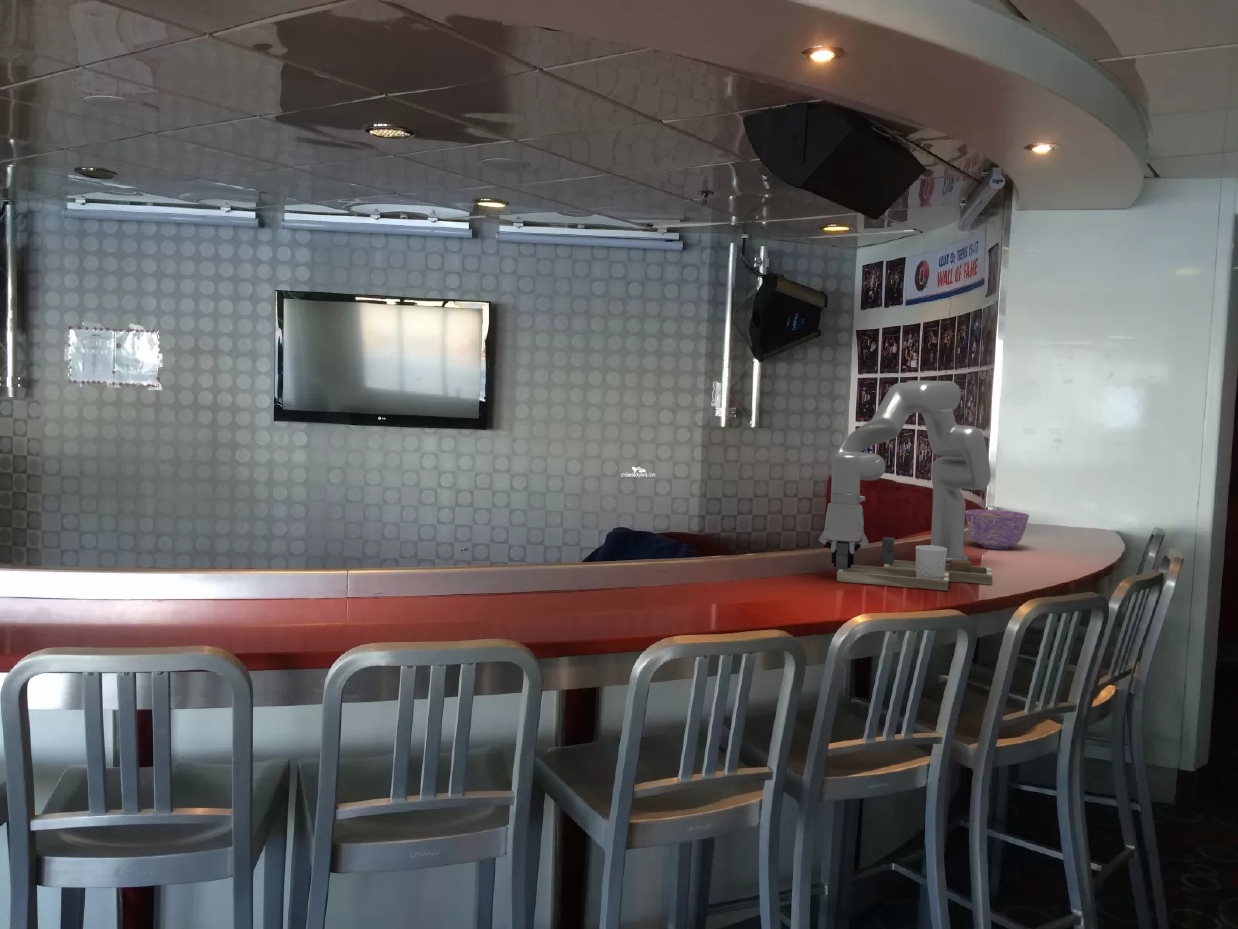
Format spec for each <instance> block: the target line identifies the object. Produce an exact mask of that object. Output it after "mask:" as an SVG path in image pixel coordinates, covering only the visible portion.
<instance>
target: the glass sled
mask: <svg viewBox="0 0 1238 929" xmlns="http://www.w3.org/2000/svg"><path fill="white" fill-rule="evenodd" d="M836 549H837V553H836V567H835V569H836V570H837V572H836V582H841V583H842V582H843V583H844V582H845V583H853V584H854V583H856V584H867V585H877V586H878V585H879V586H889V587H890V586H891V587H902V588H913V589H926V590H927V589H928V590H935V591H936V590H937V591H946V592H947V591H949V582H950V581H949V572H944V578H943V580H939V579H927V578H916V570H911V569H899V568H886V567H884V566H871V565H870V566H869V565H862V564H860V565H858V564H853V565H851V568H848V553H849V551H850V545H849V542H843V541H837V547H836Z"/></svg>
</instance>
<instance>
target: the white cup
mask: <svg viewBox="0 0 1238 929" xmlns="http://www.w3.org/2000/svg"><path fill="white" fill-rule="evenodd" d="M946 555H947V548H944V547H939V546H931V545H926V544H924V545H916V546H915V562H916V578H927V579H939V580H943V578H944V572H945V565H946V564H947V561H946Z"/></svg>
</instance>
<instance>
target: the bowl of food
mask: <svg viewBox="0 0 1238 929" xmlns="http://www.w3.org/2000/svg"><path fill="white" fill-rule="evenodd" d="M1029 517H1030V515H1029V514H1028V513H1024V512H1019V511H1009V510H1002V509H1001V510H1000V509H968V510H967V509H966V510H965V518H966V519H965V520H966V523H967V529H968V532H969V535H970V538H972V540H973V541H974V542H976V544H979V545H981V547H982V548H985V549H991V550H1007V549H1009V547H1012V546H1015V545H1017V544H1019V543H1020V541H1022V539H1023V536H1024V534H1025V531H1026V527H1027V524H1028V521H1029Z"/></svg>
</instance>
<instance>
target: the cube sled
mask: <svg viewBox="0 0 1238 929" xmlns="http://www.w3.org/2000/svg"><path fill="white" fill-rule="evenodd" d="M881 542H882V543H881V565H883V567H886V568H899V569H911V570H916V561H912V560H911V561H910V560H898V559H897V560H896V559H894V558H895V557H894V556H895V537H886V536H883V537H882V540H881ZM949 564H950V563H946V565H945V572H949V582H954V583H955V582H956V583H969V584H979V583H985V584H984V585H991V584H992V585H993V572H992V567H989V566H978V565H977V566H976V565H972V572H971V573H965V572H952V571H949Z"/></svg>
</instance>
